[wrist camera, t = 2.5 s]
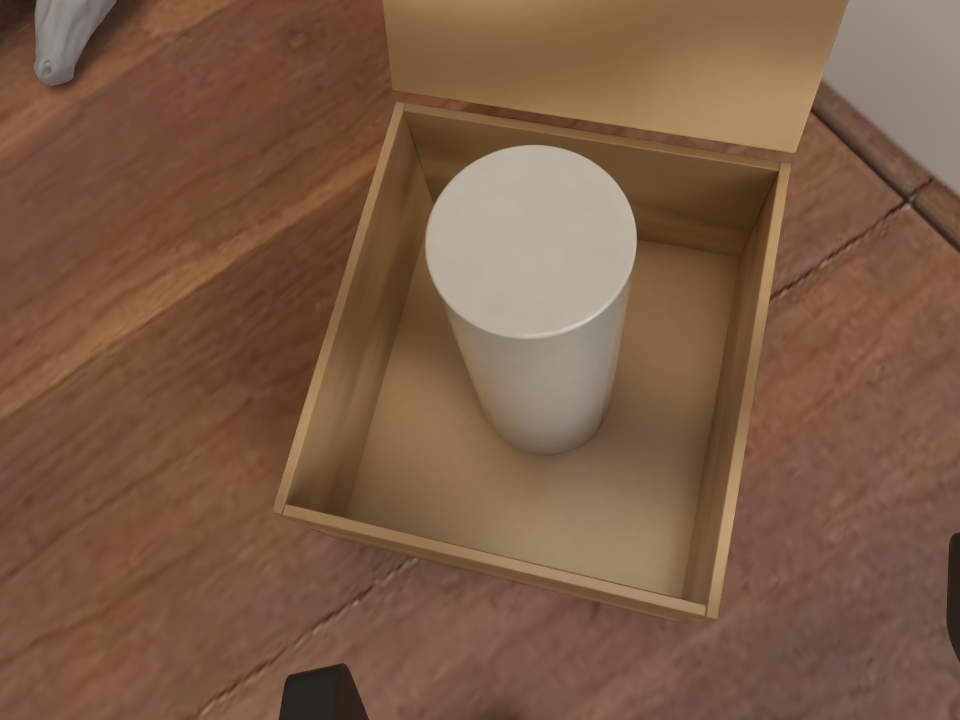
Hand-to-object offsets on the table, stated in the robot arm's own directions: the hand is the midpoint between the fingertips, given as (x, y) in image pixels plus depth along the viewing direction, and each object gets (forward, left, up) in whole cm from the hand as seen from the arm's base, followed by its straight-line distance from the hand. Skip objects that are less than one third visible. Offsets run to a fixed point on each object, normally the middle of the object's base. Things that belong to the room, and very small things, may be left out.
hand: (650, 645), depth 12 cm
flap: (+4, -15, -7) cm, 16 cm away
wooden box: (+4, -7, -17) cm, 18 cm away
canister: (+4, -7, -16) cm, 18 cm away
